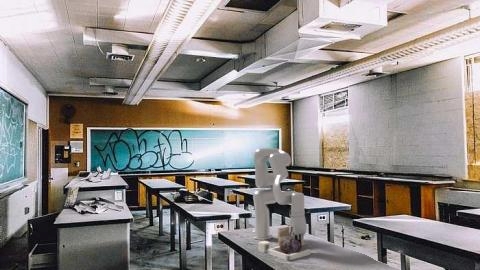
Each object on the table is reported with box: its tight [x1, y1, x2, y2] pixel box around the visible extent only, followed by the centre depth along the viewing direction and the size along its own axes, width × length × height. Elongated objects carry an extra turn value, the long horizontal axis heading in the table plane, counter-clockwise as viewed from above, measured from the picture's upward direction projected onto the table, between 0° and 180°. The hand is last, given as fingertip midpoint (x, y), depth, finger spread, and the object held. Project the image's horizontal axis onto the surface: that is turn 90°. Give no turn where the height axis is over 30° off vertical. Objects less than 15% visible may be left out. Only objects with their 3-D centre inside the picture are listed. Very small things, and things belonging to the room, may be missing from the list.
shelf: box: [275, 226, 307, 247], centre depth 231 cm, size 6×20×12 cm, turn 127°
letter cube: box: [257, 240, 271, 253], centre depth 222 cm, size 5×5×5 cm
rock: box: [280, 237, 302, 255], centre depth 214 cm, size 12×9×10 cm
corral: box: [266, 245, 312, 261], centre depth 214 cm, size 17×18×2 cm
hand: (298, 246), depth 219 cm, fingers closed
